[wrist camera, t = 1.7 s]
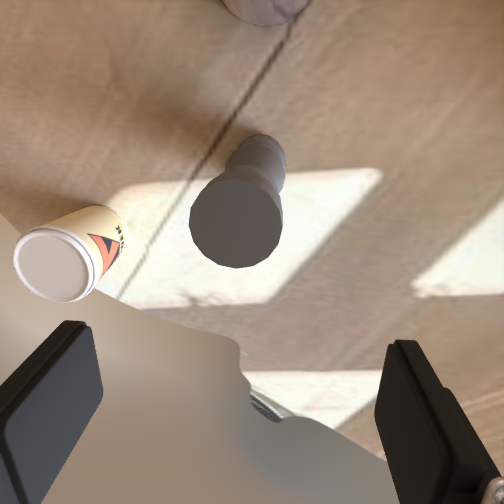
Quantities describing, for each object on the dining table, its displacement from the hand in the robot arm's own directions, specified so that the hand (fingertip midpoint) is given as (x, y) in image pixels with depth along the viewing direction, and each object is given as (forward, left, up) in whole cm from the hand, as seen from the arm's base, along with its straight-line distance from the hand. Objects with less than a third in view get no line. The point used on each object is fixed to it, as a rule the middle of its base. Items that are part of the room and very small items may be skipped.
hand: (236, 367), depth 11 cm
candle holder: (0, -1, -37) cm, 37 cm away
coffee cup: (+23, -9, -37) cm, 44 cm away
